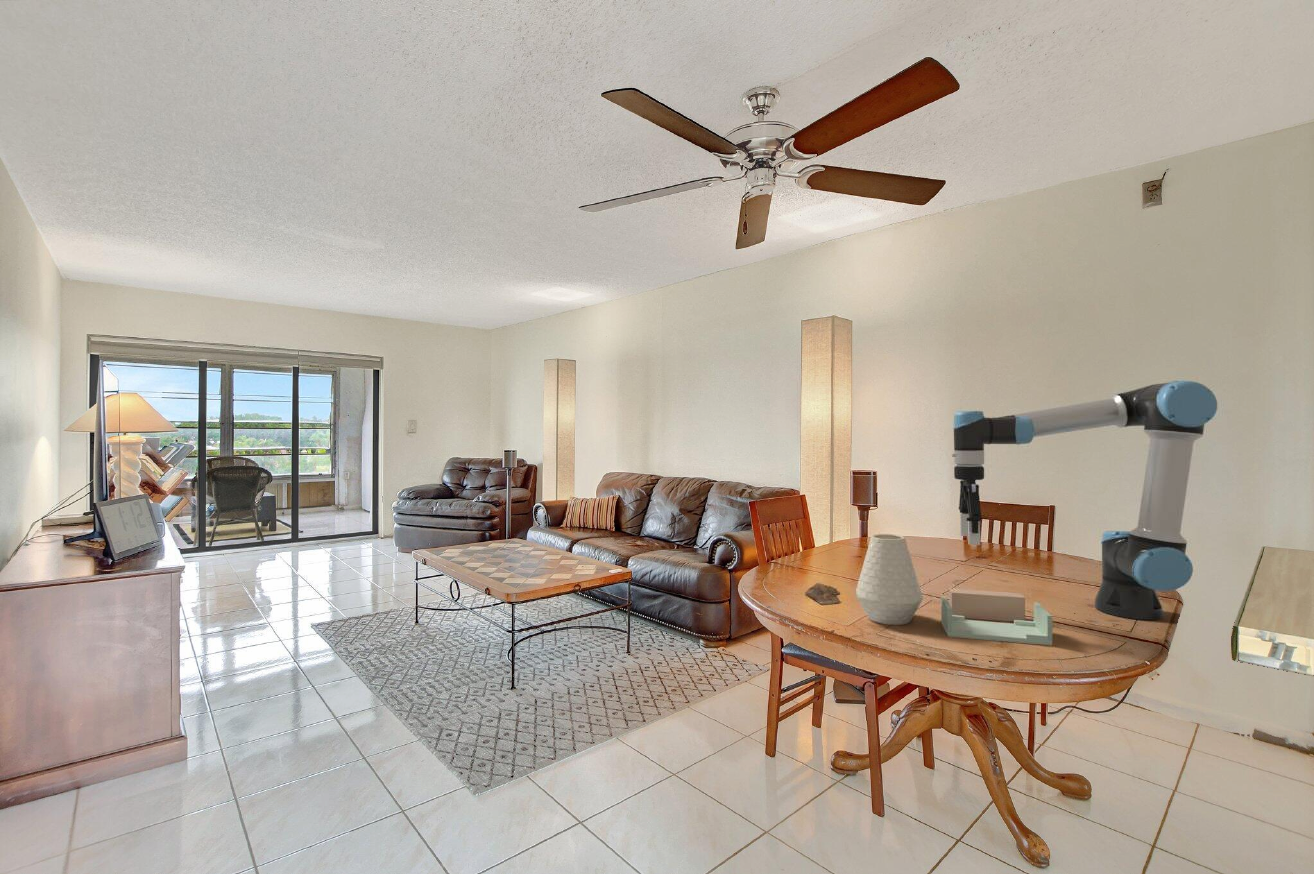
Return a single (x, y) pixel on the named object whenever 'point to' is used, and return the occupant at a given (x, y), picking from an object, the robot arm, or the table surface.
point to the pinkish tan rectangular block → (987, 604)
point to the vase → (888, 581)
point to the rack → (999, 627)
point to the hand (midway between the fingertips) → (969, 540)
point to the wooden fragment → (823, 594)
